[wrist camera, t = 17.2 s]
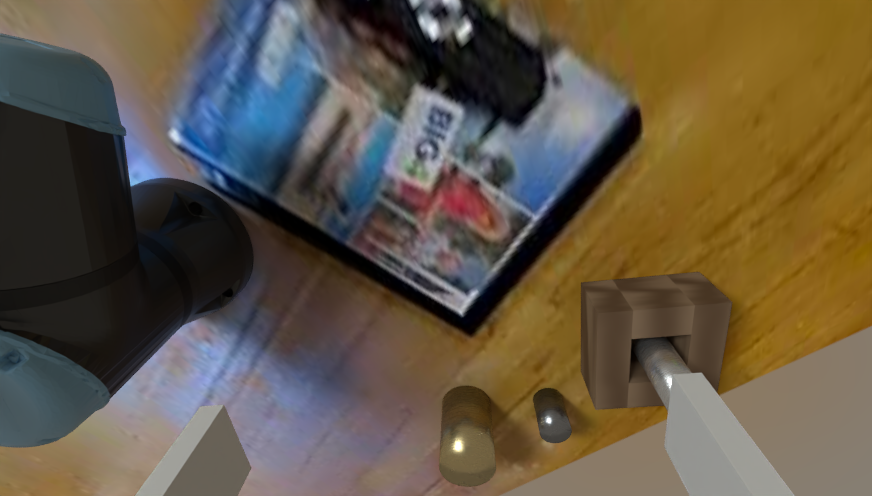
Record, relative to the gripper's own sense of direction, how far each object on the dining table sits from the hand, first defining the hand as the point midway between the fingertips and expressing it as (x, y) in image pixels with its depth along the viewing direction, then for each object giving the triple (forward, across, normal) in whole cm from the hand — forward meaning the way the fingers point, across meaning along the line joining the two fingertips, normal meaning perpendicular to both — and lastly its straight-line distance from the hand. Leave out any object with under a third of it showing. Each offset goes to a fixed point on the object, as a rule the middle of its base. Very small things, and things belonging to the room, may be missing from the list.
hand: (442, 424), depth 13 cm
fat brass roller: (+32, -2, -30) cm, 44 cm away
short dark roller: (+32, +8, -30) cm, 44 cm away
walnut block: (+32, +18, -20) cm, 42 cm away
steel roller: (+32, +18, -20) cm, 42 cm away
